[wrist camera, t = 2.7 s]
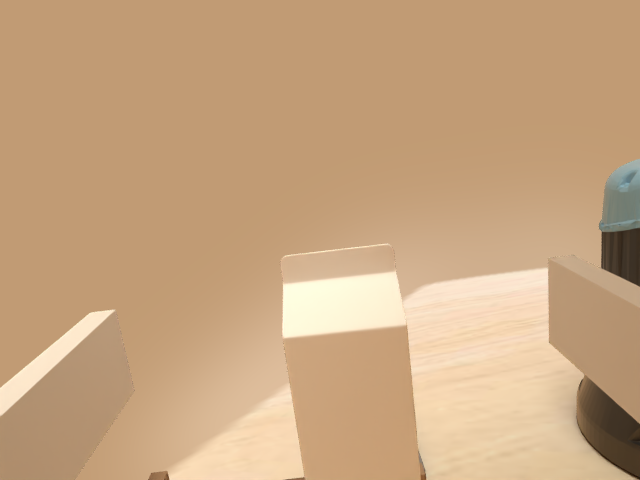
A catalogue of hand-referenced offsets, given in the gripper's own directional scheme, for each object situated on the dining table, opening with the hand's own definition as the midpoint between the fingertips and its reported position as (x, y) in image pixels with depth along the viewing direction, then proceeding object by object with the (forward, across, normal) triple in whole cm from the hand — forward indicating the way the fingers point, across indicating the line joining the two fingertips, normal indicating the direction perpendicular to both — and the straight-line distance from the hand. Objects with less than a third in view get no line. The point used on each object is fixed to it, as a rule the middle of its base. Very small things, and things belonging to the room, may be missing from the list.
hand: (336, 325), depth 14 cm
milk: (+11, +1, -23) cm, 25 cm away
